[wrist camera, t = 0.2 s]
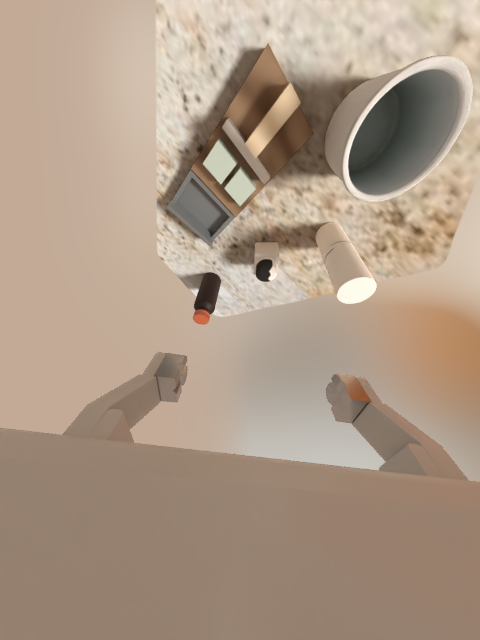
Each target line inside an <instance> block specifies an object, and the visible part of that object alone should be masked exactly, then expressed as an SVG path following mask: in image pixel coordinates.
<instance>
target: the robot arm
mask: <svg viewBox="0 0 480 640" xmlns="http://www.w3.org/2000/svg"><path fill="white" fill-rule="evenodd" d="M186 362H187V356H184V355H177V354H171V353H162V352H158V353H157V354H155V356H154V357H153V359H152V360H151V362H150V364H149V365H148V367H147V368H146V370H145V371H144V373H143V374H142V375H138V376H136V377H134V378H133V379H131V380H129V381H128V382H126V383H124V384H122V385H121V386H119V387H117V388H115V389H114V390H112V391H110V392H109V393H107V394H105V395H103V396H101V397H100V398H98V399H96V400H95V401H93V402H91V403H89V404H88V405H87V406H86V407H85V408H84V409H83V411H82V412H81V413H80V414H79V416H78V417H77V418H76V419H75V420H74V421H73V423H72V424H71V425H70V426H69V427H68V429H67V430H66V431H65V432H64V433H63V435H58V434H49V433H40V432H32V431H23V430H14V429H5V428H0V640H480V482H476V481H469V480H468V479H467V477H466V476H465V475H464V474H463V472H462V471H461V470H460V469H459V467H458V466H457V465H456V464H455V462H454V461H453V460H452V459H451V457H450V456H449V455H448V454H447V452H446V451H445V450H444V449H443V447H442V446H441V445H439V444H438V443H437V442H435V441H434V440H433V439H431V438H430V437H429V436H427V435H426V434H425V433H423V432H422V431H421V430H419V429H418V428H417V427H415V426H414V425H413V424H411V423H410V422H408V421H407V420H406V419H405V418H403V417H402V416H401V415H399V414H398V413H397V412H395V411H394V410H392V409H391V408H390V407H389V406H387V405H386V404H382V402H381V400H380V399H379V398H378V396H377V395H376V393H375V392H374V390H373V389H372V387H371V386H370V384H369V383H368V381H367V380H366V379H365V378H364V377H358V376H349V375H340V374H335V375H333V377H332V381H333V382H331V383H329V384H328V386H327V388H326V396H327V399H328V402H329V403H331V404H332V405H333V406H332V412H333V414H334V417H335V419H336V421H339V422H346V423H353V424H352V425H353V426H354V427H355V428H356V429H357V430H358V431H359V432H360V434H361V435H362V436H363V437H364V438H365V439H366V440H367V441H368V442H369V443H370V445H371V446H372V447H373V448H374V449H375V450H376V451H377V453H379V455H380V456H381V457H382V458H383V459H384V460H385V461H386V462H385V464H383V465H382V466H381V467H380V468H379V471H378V470H369V469H360V468H351V467H342V466H334V465H325V464H315V463H307V462H299V461H290V460H281V459H271V458H263V457H254V456H245V455H236V454H227V453H219V452H209V451H200V450H192V449H182V448H174V447H165V446H156V445H147V444H138V443H134V441H133V438H132V435H131V432H130V429H131V428H132V427H133V426H134V425H135V424H136V423H138V422H139V421H140V420H141V419H142V418H143V417H144V416H145V415H147V414H148V413H149V412H150V411H151V410H152V409H153V408H154V407H155V406H157V405H158V404H159V403H160V402H161V401H167V402H178V399H179V397H180V394H181V386H182V385H184V383H185V381H186V376H187V366H186Z"/></svg>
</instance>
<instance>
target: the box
mask: <svg viewBox="0 0 480 640" xmlns="http://www.w3.org/2000/svg"><path fill="white" fill-rule="evenodd" d="M166 208H167V209H168V210H169V211H170V212H172V213H173V214H174V215H175V216H176V217H177V218H178V219H179V220H181V221H182V222H183V223H184V224H185V225H186V226H187V227H188V228H190V229H191V230H192V231H193V232H194V233H195V234H196V235H198V236H199V237H200V238H201V239H202V240H203V241H204V242H205V243H207V244H208V245H209V246H211V245H212V244H213V241H214V239H215V238H216V237H217V236H218V235H219V234H220V233H221V232H222V231H223V230H224V229H225V227H226V226H227V225H228V224H229V223H230V222H231V221H232V220H233V219H234V218H235V216H234V215H233V214H232V213H231V211H230V210H229V209H228V208H227V207H226V206H225V205H224V204H223V203H222V202H221V201H220V200H219V199H218V197H217V196H216V195H215V194H214V193H213V192H212V191H211V190H210V189H209V188H208V187H207V186H206V184H205V183H204V182H203V181H202V180H201V179H200V178H199V177H198V176H197V175H196V174H195V173H194V171H193V170H192V169H191V170H190V172H189V173H188V175H187V177H186V178H185V180H184V181H183V183H182V185H181V186H180V188H179V190H178V191H177V193H176V194H175V196H174V198H173V199H172V201H171V202H170V203H169V204H168V206H167V207H166Z"/></svg>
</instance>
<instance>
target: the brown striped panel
mask: <svg viewBox="0 0 480 640" xmlns="http://www.w3.org/2000/svg"><path fill="white" fill-rule="evenodd" d="M287 85H288V82H287V80H286V78H285V76H284V74H283V72H282V70H281V68H280V66H279V64H278V62H277V60H276V58H275V56H274V54H273V52H272V50H271V48H270V46H269V44H267V46H266V48H265V49H264V51H263V52H262V54H261V56H260V57H259V59H258V61H257V62H256V64H255V66H254V67H253V69H252V70H251V72H250V74H249V75H248V77H247V79H246V80H245V82H244V83H243V85H242V87H241V88H240V90H239V92H238V93H237V95H236V96H235V98H234V100H233V101H232V103H231V105H230V106H229V108H228V109H227V111H226V113H225V114H224V116H223V118H222V119H221V121H220V122H219V124H218V126H217V127H216V129H215V131H214V132H213V134H212V135H211V137H210V139H209V140H208V142H207V144H206V145H205V147H204V148H203V150H202V152H201V153H200V155H199V157H198V158H197V160H196V162H195V163H194V165H193V166H192V168H191V169H192V170H193V171H194V173H195V174H196V175H197V176H198V177H199V178H200V179H201V180H202V181H203V182H204V183H205V184H206V186H207V187H208V188H209V189H210V190H211V191H212V192H213V193H214V194H215V195H216V196H217V197H218V199H219V200H220V201H221V202H222V203H223V204H224V205H225V206H226V207H227V208H228V209H229V210H230V211H231V213H232V214H233V215H234V216H235V217H236V216H237V215H238V214H239V213H240V212H241V211H242V210H243V209H244V208H245V207H246V205H247V204H248V203H249V202H250V201H251V200H252V199H253V198H254V197H255V196H256V195H257V194H258V193H259V192H260V190H261V189H262V188H263V187H264V186H265V185H266V184H267V183H268V182H269V181H270V180H271V179H272V178H273V177H274V175H275V174H276V173H277V172H278V171H279V170H280V169H281V168H282V167H283V166H284V165H285V164H286V163H287V162H288V160H289V159H290V158H291V157H292V156H293V155H294V154H295V153H296V152H297V151H298V150H299V149H300V148H301V147H302V145H303V144H304V143H305V142H306V141H307V140H308V139H309V138H310V137H311V136H312V135H313V134H314V133H313V132H312V130H311V128H310V126H309V124H308V122H307V120H306V118H305V116H304V114H303V112H302V110H301V108H300V106H298V107H297V108H296V110H295V111H294V112H293V113H292V115H291V116H290V117H289V118H288V119H287V121H286V122H285V123H284V124H283V126H282V127H281V128H280V129H279V131H278V132H277V133H276V134H275V135H274V137H273V138H272V139H271V140H270V142H269V143H268V144H267V145H266V146H265V148H264V149H263V150H262V151H261V153H260V154H259V155H258V156H257V157H258V158H259V160H260V161H261V163H262V164H263V165H264V167H265V168H266V170H267V171H268V173H269V175H270V179H269V180H268V181H267V182H266V184H265V185H264V184H263V182H262V181H261V180H260V178H259V177H258V176H257V174H256V173H255V172H254V170H253V169H252V168H251V166H250V165H249V164H248V162H247V161H246V159H245V158H244V157H243V155H242V154H241V153H240V151H239V150H238V149H237V147H236V146H235V145H234V143H233V142H232V141H231V139H230V138H229V136H228V135H227V134H226V132H225V131H224V130H223V128H222V126H223V125H224V123H225V122H226V120H227V119H228V118H231V120H232V121H233V123H234V124H235V125H236V127H237V128H238V130H239V131H240V133H241V134H242V135H243V137H244V138H245V140H247V139H248V138H249V136H250V135H251V134H252V132H253V131H254V130H255V128H256V127H257V126H258V124H259V123H260V121H261V120H262V119H263V117H264V116H265V115H266V113H267V112H268V111H269V109H270V108H271V107H272V105H273V104H274V102H275V101H276V100H277V98H278V97H279V96H280V94H281V93H282V92H283V90H284V89H285V88H286V86H287ZM219 139H221V140H222V141H223V143H224V144H225V145H226V146H227V148H228V149H229V150H230V152H231V153H232V154H233V156H234V157H235V158H236V160H237V161H238V162H237V164H236V166H235V167H234V168H233V169H232V171H231V172H230V173H229V175H228V176H227V177H226V179H225V180H224V181H223V183H222V184H220V183H219V182H218V181H217V180H216V178H215V177H214V176H213V175H212V174H211V173H210V172H209V170H208V169H207V168H206V167H205V166H204V165H203V163H204V161H205V159H206V158H207V156H208V155H209V153H210V152H211V150H212V149H213V147H214V145H215V144H216V142H217V141H218V140H219ZM240 166H242V167H243V169H244V170H245V171H246V173H247V174H248V175H249V176H250V178H251V179H252V180H253V182H254V183H255V184H256V189H255V191H254V192H253V193H252V194H251V195H250V196H249V197H248V198H247V199H246V200H245V202H244V203H243V204H242V205H241V206H239V205H238V204H237V202H236V201H235V200H234V199H233V198H232V197H231V196H230V194H229V193H228V192H227V191H226V190H225V189H224V188H225V186H226V184H227V183H228V181H229V180H230V179H231V178H232V176H233V175H234V174H235V172H236V171H237V170H238V169H239V167H240Z"/></svg>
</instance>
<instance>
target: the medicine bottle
mask: <svg viewBox="0 0 480 640" xmlns="http://www.w3.org/2000/svg"><path fill="white" fill-rule="evenodd" d="M278 261H279V247H278V242H256V243H255V253H254V274H256V277H257V278H258V279H259V280H260V281H264V282H268V281H271V280H273V279H274V278H275V277H276V275H277V268H278Z"/></svg>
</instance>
